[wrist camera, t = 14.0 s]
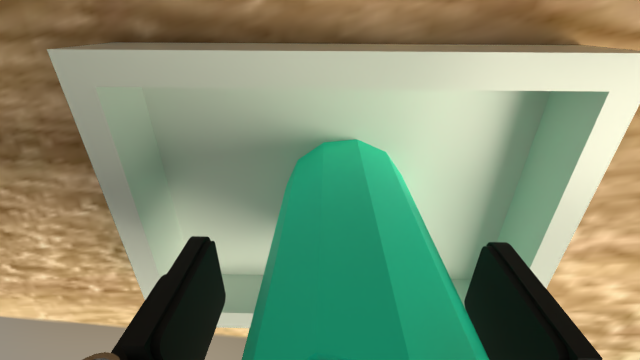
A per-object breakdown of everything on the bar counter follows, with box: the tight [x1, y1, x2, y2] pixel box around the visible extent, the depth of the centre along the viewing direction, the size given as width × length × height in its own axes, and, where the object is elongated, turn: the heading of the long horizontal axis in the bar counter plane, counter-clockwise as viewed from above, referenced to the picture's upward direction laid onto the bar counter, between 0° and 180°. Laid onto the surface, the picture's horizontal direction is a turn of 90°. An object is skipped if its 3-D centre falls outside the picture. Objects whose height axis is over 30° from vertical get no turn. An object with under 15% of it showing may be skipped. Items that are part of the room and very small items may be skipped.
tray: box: [47, 42, 640, 328], centre depth 15 cm, size 14×20×4 cm
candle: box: [242, 139, 489, 360], centre depth 10 cm, size 6×6×12 cm
